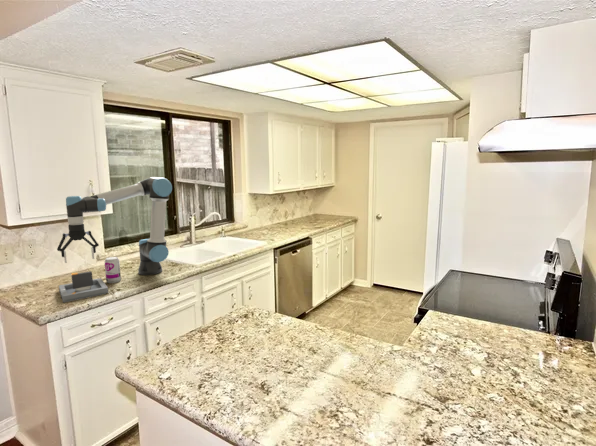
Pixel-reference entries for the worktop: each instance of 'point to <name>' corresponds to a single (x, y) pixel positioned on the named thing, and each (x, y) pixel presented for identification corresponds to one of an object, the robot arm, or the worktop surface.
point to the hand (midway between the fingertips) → (79, 260)
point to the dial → (82, 281)
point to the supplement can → (112, 269)
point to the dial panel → (71, 295)
